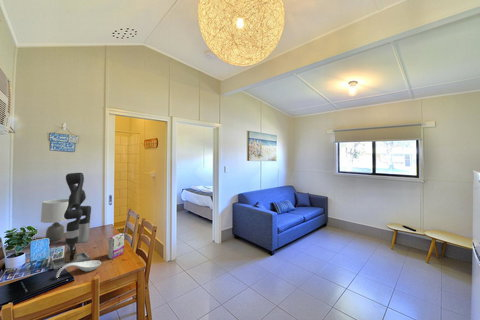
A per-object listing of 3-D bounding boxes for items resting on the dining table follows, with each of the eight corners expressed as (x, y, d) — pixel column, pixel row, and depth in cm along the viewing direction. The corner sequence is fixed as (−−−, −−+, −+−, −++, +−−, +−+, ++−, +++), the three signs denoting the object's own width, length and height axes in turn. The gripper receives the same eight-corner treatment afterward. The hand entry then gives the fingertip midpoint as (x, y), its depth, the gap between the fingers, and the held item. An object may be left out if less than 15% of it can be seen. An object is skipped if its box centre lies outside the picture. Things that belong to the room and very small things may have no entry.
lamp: (73, 234, 197) (75, 198, 198) (62, 242, 178) (65, 202, 179) (47, 236, 190) (49, 199, 191) (33, 244, 170) (36, 203, 172)
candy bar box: (119, 252, 162) (120, 232, 163) (124, 253, 161) (125, 233, 162) (107, 258, 151) (108, 237, 152) (112, 259, 150) (114, 238, 151)
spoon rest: (98, 263, 144) (99, 253, 145) (102, 269, 136) (102, 259, 136) (55, 275, 127) (56, 264, 128) (56, 283, 119) (57, 271, 119)
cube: (64, 259, 144) (65, 251, 144) (74, 257, 148) (75, 249, 148) (66, 262, 140) (66, 254, 140) (76, 259, 145) (77, 251, 145)
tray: (50, 263, 140) (50, 260, 141) (84, 254, 156) (84, 251, 156) (53, 271, 132) (54, 267, 132) (89, 260, 147) (89, 257, 148)
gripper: (63, 234, 146) (62, 257, 146) (67, 239, 137) (66, 263, 137) (76, 232, 152) (74, 253, 151) (81, 237, 143) (79, 260, 143)
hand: (70, 258), depth 144 cm, fingers closed on cube, 6 cm apart
